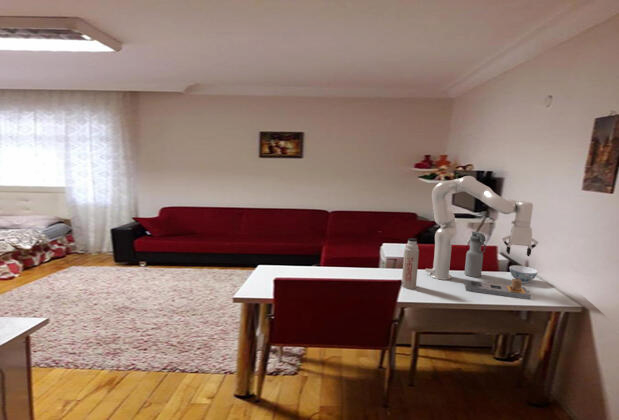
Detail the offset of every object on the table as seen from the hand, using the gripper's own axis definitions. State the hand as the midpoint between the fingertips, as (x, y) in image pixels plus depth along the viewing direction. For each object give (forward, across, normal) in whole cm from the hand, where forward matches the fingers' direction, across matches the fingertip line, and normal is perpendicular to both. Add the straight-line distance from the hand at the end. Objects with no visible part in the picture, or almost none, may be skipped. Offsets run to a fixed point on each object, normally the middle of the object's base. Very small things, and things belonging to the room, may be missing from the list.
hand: (518, 254), depth 200 cm
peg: (+22, +1, -1) cm, 22 cm away
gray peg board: (+22, -9, -1) cm, 24 cm away
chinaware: (+23, +10, +25) cm, 35 cm away
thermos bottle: (+23, -56, -13) cm, 62 cm away
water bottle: (+23, -18, +25) cm, 39 cm away
